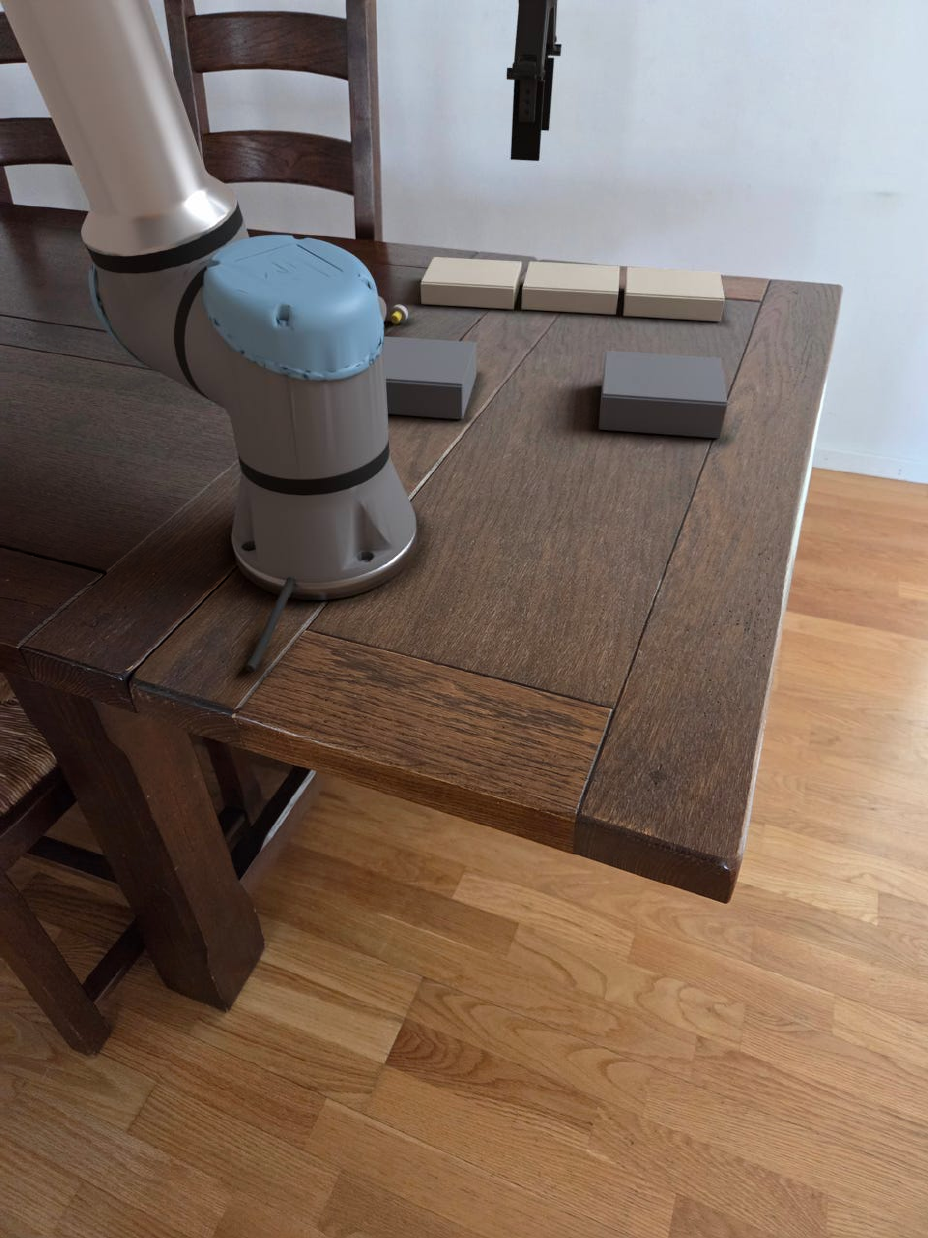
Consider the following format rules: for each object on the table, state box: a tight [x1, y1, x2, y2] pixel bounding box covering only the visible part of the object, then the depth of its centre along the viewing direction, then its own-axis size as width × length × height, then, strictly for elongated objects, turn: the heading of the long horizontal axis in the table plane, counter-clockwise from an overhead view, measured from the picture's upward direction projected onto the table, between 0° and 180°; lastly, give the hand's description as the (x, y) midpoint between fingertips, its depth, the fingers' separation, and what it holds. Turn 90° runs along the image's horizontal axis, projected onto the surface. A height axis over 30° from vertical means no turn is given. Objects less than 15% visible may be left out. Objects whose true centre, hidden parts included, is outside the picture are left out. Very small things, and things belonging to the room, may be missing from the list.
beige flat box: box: [521, 261, 621, 316], centre depth 112 cm, size 9×12×3 cm
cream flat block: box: [420, 256, 523, 310], centre depth 113 cm, size 9×12×3 cm
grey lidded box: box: [384, 336, 478, 420], centre depth 92 cm, size 10×12×4 cm
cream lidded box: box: [622, 266, 726, 322], centre depth 110 cm, size 9×12×3 cm
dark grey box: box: [598, 350, 728, 439], centre depth 89 cm, size 10×12×4 cm
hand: (531, 143), depth 87 cm, fingers open, 13 cm apart
